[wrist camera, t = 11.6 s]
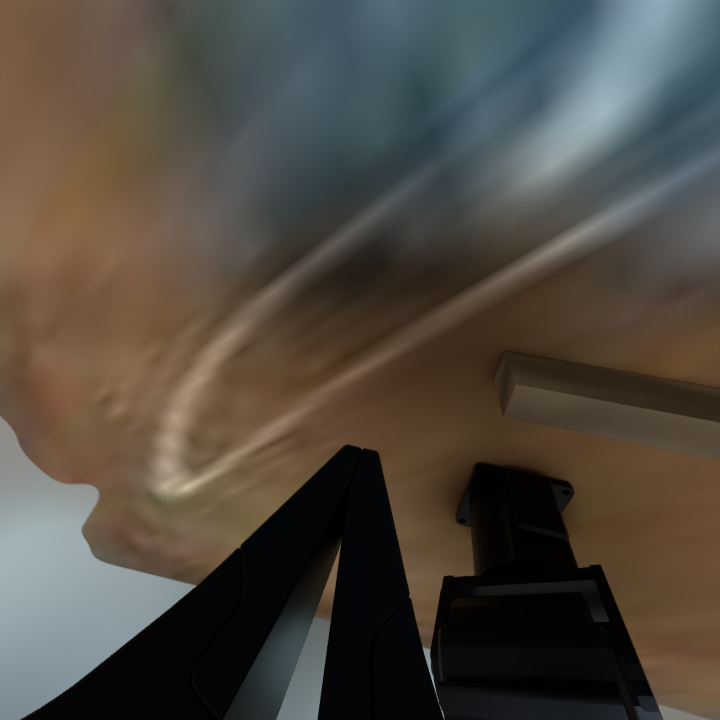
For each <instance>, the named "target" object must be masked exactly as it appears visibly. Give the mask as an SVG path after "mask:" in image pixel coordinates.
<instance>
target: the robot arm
mask: <svg viewBox="0 0 720 720" xmlns="http://www.w3.org/2000/svg"><path fill="white" fill-rule="evenodd" d="M481 471H483V472H481ZM574 493H575V492H574V489H573V487H572V485H571V484H569V483H566V482H561V481H557V480H552V479H548V478H543V477H539V476H534V475H530V474H526V473H521V472H517V471H512V470H508V469H503V468H499V467H494V466H490V465H486V464H478V465H476V466H475V467H474V470H473V472H472V475H471V477H470V480H469V482H468V485H467V487H466V490H465V492H464V495H463V497H462V500H461V502H460V505H459V508H458V510H457V513H456V522H457V523H458V524H460V525H464V526H468V527H471V535H472V547H473V560H474V572H475V576H461V577H453V575H452V576H444V578H443V583H442V589H441V592H440V598H439V604H438V610H437V616H436V622H435V627H434V633H433V639H432V645H431V651H430V658H431V670H432V674H433V676H434V683H435V688H436V692H435V689H434V686H433V682H432V679H431V676H430V673H429V669H428V666H427V662H426V659H425V655H424V651H423V647H422V643H421V639H420V635H419V631H418V627H417V623H416V619H415V614H414V610H413V605H412V601H411V598H409V595H410V593H409V588H408V584H407V579H406V574H405V570H404V565H403V561H402V556H401V552H400V547H399V543H398V538H397V534H396V529H395V525H394V520H393V515H392V511H391V506H390V502H389V497H388V493H387V488H386V484H385V479H384V475H383V470H382V466H381V461H380V456H379V453H378V452H377V451H375V450H370V449H366V448H363V449H362V450H361V448H360V447H357V446H353V445H348V444H347V445H344V446H343V447H342V448H341V449H340V450H339V451H338V452H337V453H336V454H335V455H334V456H333V457H332V458H331V459H330V460H329V461H328V462H327V463H326V464H325V465H323V466H322V467H321V468H320V469H319V470H318V471H317V472H316V473H315V474H314V475H313V476H312V477H311V478H310V479H309V480H308V481H307V482H306V483H305V484H304V485H303V486H302V487H301V488H300V489H298V490H297V491H296V492H295V493H294V494H293V495H292V496H291V497H290V498H289V499H288V500H287V501H286V502H285V503H284V504H283V505H282V506H281V507H280V508H279V509H278V510H277V511H276V512H275V513H274V514H272V515H271V516H270V517H269V518H268V519H267V520H266V521H265V522H264V523H263V524H262V525H261V526H260V527H259V528H258V529H257V530H256V531H255V532H254V533H253V534H252V535H251V536H250V537H249V538H247V539H246V540H245V541H244V542H243V543H242V544H241V546H240V548H237V549H236V550H235V551H234V552H233V553H232V554H231V555H230V556H229V557H227V558H226V559H225V560H224V561H223V562H222V563H221V564H220V565H219V566H218V567H217V568H216V569H215V570H214V571H212V572H211V573H210V574H209V575H208V576H207V577H206V578H205V579H204V580H203V581H202V582H200V583H199V584H198V585H197V586H196V587H195V588H194V589H192V590H191V591H190V592H189V593H188V594H186V595H185V596H184V597H183V598H182V599H180V600H179V601H178V602H177V603H176V604H174V605H173V606H172V607H171V608H170V609H168V610H167V611H166V612H165V613H164V614H162V615H161V616H160V617H158V618H157V619H156V620H155V621H153V622H152V623H151V624H150V625H149V626H147V627H146V628H145V629H143V630H142V631H141V632H140V633H138V634H137V635H136V636H135V637H133V638H132V639H131V640H130V641H128V642H127V643H126V644H125V645H123V646H122V647H121V648H120V649H118V650H117V651H116V652H115V653H113V654H112V655H111V656H110V657H109V658H107V659H106V660H105V661H104V662H102V663H101V664H100V665H98V666H97V667H96V668H95V669H94V670H92V671H91V672H90V673H88V674H87V675H86V676H85V677H83V678H82V679H81V680H79V682H77V683H76V684H74V685H73V686H72V687H70V688H69V689H68V690H66V691H65V692H63V693H62V694H60V695H59V696H58V697H56V698H55V699H53V700H52V701H50V702H49V703H47V704H45V705H44V706H42V707H41V708H40V709H38V710H36V711H34V712H32V713H31V714H29V715H27V716H26V717H24V718H22V719H21V720H276V719H277V716H278V713H279V710H280V708H281V705H282V702H283V700H284V697H285V694H286V691H287V689H288V686H289V683H290V681H291V678H292V675H293V672H294V669H295V667H296V664H297V662H298V659H299V656H300V653H301V651H302V648H303V645H304V642H305V640H306V637H307V634H308V631H309V629H310V626H311V624H312V621H313V618H314V616H315V613H316V610H317V607H318V605H319V602H320V599H321V597H322V594H323V591H324V588H325V586H326V583H327V580H328V578H329V575H330V572H331V569H332V567H333V564H334V561H335V559H336V556H337V553H338V550H339V548H340V545H341V549H340V557H339V564H338V572H337V579H336V587H335V594H334V601H333V609H332V616H331V624H330V631H329V639H328V646H327V653H326V661H325V668H324V676H323V684H322V691H321V698H320V705H319V713H318V720H444V719H445V720H663V718H662V715H661V712H660V710H659V708H658V705H657V702H656V700H655V697H654V695H653V693H652V690H651V688H650V685H649V683H648V680H647V678H646V675H645V673H644V670H643V668H642V665H641V663H640V660H639V658H638V655H637V653H636V650H635V648H634V645H633V643H632V640H631V638H630V636H629V633H628V631H627V628H626V626H625V623H624V621H623V618H622V616H621V613H620V611H619V608H618V606H617V604H616V601H615V599H614V596H613V594H612V591H611V589H610V587H609V584H608V582H607V579H606V577H605V574H604V572H603V570H602V567H601V565H600V564H599V565H589V566H590V567H586V568H578V565H577V562H576V559H575V556H574V554H573V551H572V548H571V545H570V542H569V535H568V532H567V529H566V526H565V523H564V520H563V517H562V515H561V513H562V512H563V510H564V509H565V507H566V506H567V504H568V503H569V501H570V500H571V498H572V497H573V495H574ZM436 693H437V696H436ZM437 697H438V699H437ZM438 700H439V702H438ZM439 704H440V705H439ZM440 706H441V709H442V711H443V713H444V718H443V715H442V712H441V709H440Z"/></svg>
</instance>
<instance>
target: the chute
mask: <svg viewBox="0 0 720 720" xmlns="http://www.w3.org/2000/svg"><path fill="white" fill-rule="evenodd" d="M494 382H495V386H496V390H497V394H498V398H499V402H500V406H501V410H502V414H503V416H504V417H509V418H514V419H519V420H524V421H529V422H534V423H539V424H544V425H549V426H554V427H559V428H563V429H568V430H573V431H578V432H583V433H588V434H593V435H598V436H603V437H608V438H613V439H618V440H623V441H627V442H632V443H637V444H642V445H647V446H652V447H657V448H662V449H667V450H672V451H677V452H682V453H687V454H692V455H696V456H701V457H706V458H711V459H716V460H720V388H715V387H709V386H704V385H698V384H692V383H686V382H681V381H675V380H669V379H664V378H658V377H652V376H647V375H641V374H635V373H630V372H624V371H618V370H612V369H607V368H601V367H595V366H590V365H584V364H578V363H573V362H567V361H561V360H556V359H550V358H544V357H538V356H533V355H527V354H521V353H516V352H510V351H504V353H503V356H502V359H501V361H500V364H499V367H498V370H497V372H496V375H495V378H494Z"/></svg>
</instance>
